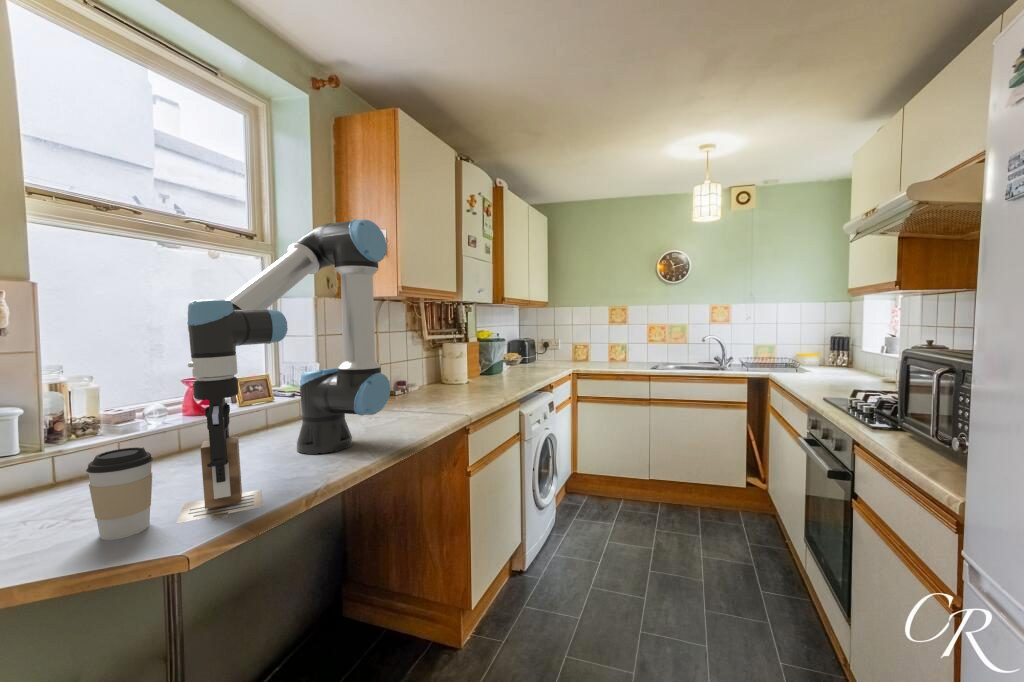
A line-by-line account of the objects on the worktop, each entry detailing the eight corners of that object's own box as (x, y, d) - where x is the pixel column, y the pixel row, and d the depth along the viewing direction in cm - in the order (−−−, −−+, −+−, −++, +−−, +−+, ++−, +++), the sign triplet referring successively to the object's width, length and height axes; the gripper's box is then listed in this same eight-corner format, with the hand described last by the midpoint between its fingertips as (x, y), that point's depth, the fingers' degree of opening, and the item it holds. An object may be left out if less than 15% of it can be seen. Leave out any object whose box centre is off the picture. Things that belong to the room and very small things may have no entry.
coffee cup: (81, 550, 76) (74, 461, 75) (104, 528, 84) (98, 447, 83) (148, 538, 80) (142, 453, 79) (163, 518, 88) (158, 441, 87)
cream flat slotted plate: (269, 488, 103) (269, 485, 103) (271, 511, 90) (271, 508, 90) (176, 504, 94) (176, 502, 94) (163, 533, 82) (163, 530, 81)
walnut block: (242, 492, 97) (238, 436, 96) (241, 501, 91) (236, 442, 91) (208, 498, 94) (203, 440, 93) (205, 508, 89) (200, 447, 88)
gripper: (198, 374, 98) (206, 480, 99) (185, 385, 81) (195, 513, 82) (239, 371, 101) (246, 473, 103) (235, 381, 85) (243, 503, 86)
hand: (223, 491), depth 93 cm, fingers closed on walnut block, 6 cm apart
